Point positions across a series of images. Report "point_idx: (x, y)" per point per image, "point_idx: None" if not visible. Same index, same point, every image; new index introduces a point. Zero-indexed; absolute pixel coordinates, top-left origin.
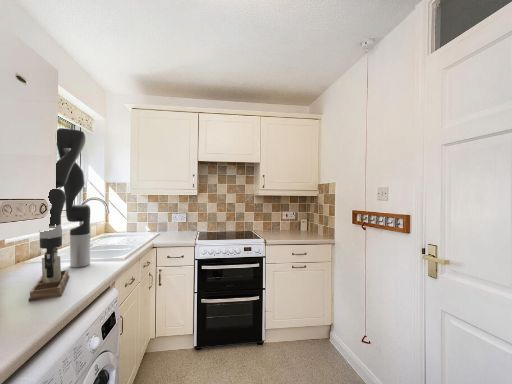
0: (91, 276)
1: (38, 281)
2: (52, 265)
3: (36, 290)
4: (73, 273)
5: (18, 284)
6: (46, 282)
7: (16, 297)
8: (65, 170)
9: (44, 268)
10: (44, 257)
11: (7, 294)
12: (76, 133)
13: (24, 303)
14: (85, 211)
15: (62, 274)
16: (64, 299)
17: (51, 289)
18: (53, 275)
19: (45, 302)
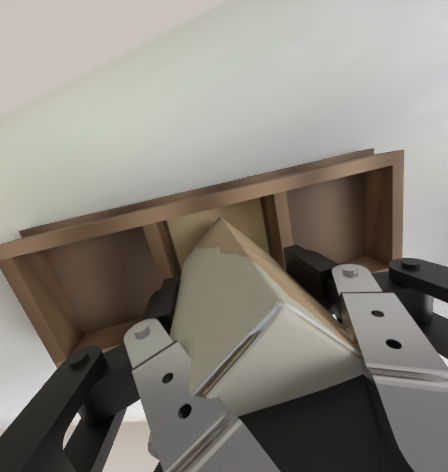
0: None
1: (212, 200)
2: (91, 434)
3: (14, 274)
4: (421, 256)
5: (351, 26)
6: (194, 250)
7: (109, 130)
8: None
9: (207, 275)
10: (301, 342)
11: (174, 45)
12: None
13: (6, 219)
14: None
15: (374, 245)
16: (42, 367)
17: (44, 337)
18: None
19: (11, 309)
